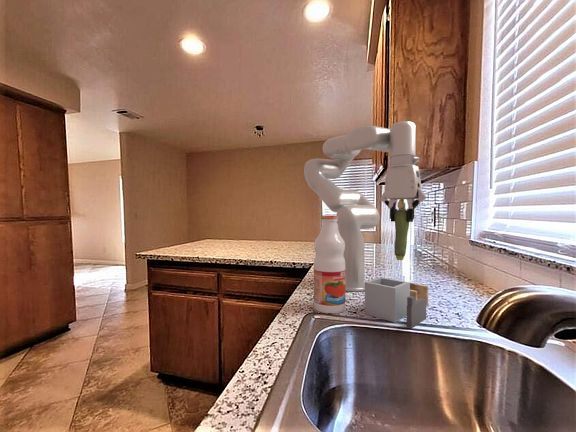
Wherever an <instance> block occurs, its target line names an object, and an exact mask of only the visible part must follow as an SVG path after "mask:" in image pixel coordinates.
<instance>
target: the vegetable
mask: <svg viewBox="0 0 576 432" xmlns="http://www.w3.org/2000/svg"><path fill="white" fill-rule="evenodd" d="M397 208H398V209H397V211H396V213H395V219H394V220H395V221H394V228H395V239H394V246H393V248H394V256H395V258H396V260H397V261H402V260H403V261H404V259H405V256H406V253H407V251H406V250H407V243H408V232H409V227H410V222H407V209H406V208H405V199H398V201H397Z"/></svg>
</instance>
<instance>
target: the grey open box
mask: <svg viewBox="0 0 576 432" xmlns="http://www.w3.org/2000/svg"><path fill="white" fill-rule="evenodd" d="M364 283H365V291H364V315H369V316H371V317H374V318H378V319H382V320H385V321H388V322H393V323H397V322H398V321H400V320H402V319H404V318H406V317H407V297H409V296H410V283H411V282H409V281H403V280H398V279H394V278H393V279H392V278H386V277H382V276H381V277H377V278H373V279H370V280H367V281H364Z"/></svg>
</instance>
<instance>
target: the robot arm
mask: <svg viewBox="0 0 576 432" xmlns="http://www.w3.org/2000/svg"><path fill="white" fill-rule="evenodd" d="M416 132H417V127H416V124H415V123H414V122H413V121H410V120H409V121H408V120H404V121H403V120H402V121H398V122H394V123H392V125H390V127H389V128H386V127H383V126H382V127H381V126H377V125H365V126H360V127H357V128H356V127H355V128H352V129H351V130H350V131H349V132H348V133H347V134H343V135H339V136H334V137H331V138H329V139H326V140H325V142H324V143H323V144H322V152H323V155H324V156H326V157H327V158H329V159H327V158H318V157H317V158H310V159H309V160H307V161H306V162H305V164H304V165H303V166H304V167H303V175H304V179H305V182H306V183H307V186H308V187H309V188H310V189H311V190H312V191H313V192H314V193H315V194H316V195H317V196H318V197H319V198H320V200H321V201H322V202H323V203H324V205H326V206H327V208H328V209H329V210H330V211H331V212H333V213H336V214H335V215H337V216H338V221H337V227H338V230H339V233H340V235H341V237H342V238H343V240H344V242H345V250H344V253H343V256H344V259H345V266H346V271H345V292H363V291H364V292H365V238H364V236H363V234H362V231H361V230H369V229H374V228H375V227H377V226H378V224H379V223H380V221H381V220H380V219H381V218H380V212H379V211H378V208H377V207H376V206H375V205H374V204H373V203H372V202H371V201H369V199H367V197H366V196H364V194H362V192H359V191H358V190H352V189H345V188H344V189H342V188H340V187H339V186H338V185H336V184H335V182H334V181H332V180H336V179H338V178H340V177H341V176H342V174H344V172H345V171H346V169H347V168H348V167H349V166H350V164H351V163H352V162H353V161H354V159H355V157H356V156H358V155H359V154H360V153H361V151H362V150H363V151H364V150H370V151H377V152H384V153H389V167H388V168H387V170H386V173H385V181H384V191H383V193H382V195H381V196H380V198H379V200H380V201H381V202H383V204H385V205H386V206H387V208H388V209H389V219H390V222H392V223H393V222H395V220H394V219H395V213H396V211H397V210H398V209H397V205H398V201H399V200H400V199H404V200H406V201H407V202H406V203H407V207H408V208H407V209H406V210H407V222H409V223H413V222H414V220H415V210H416V208H417V207H418V206H419V205H420V204H421V203H422V202H424V201H425V200H426V199H427V196H426V195H425V193H424V192H423V191H422V181H421V172H420V168H419V165H417V163H418V162H419V163H420V162H421V158H420V157H419V156H416V155H417V154H416V153H417V152H416V148H417V147H416V145H417V143H416V140H417V139H416V138H417V137H416V136H417V135H416V134H417V133H416Z"/></svg>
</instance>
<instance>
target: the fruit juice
mask: <svg viewBox="0 0 576 432" xmlns="http://www.w3.org/2000/svg"><path fill="white" fill-rule="evenodd" d="M320 218H321V222H322V223H321V228H320V231H319V234H318V235H317V237H316V238H315V240H314V245H313V247H314V252H315V256H314V259H313V307H314V309H315V311H317V312H318V313H323V314H328V313H332V314H331V315H333V314H339V313H343V312H345V309H346V291H345V271H346V266H345V259H344V256H343V253H344V250H345V242H344V240H343V238H342V237H341V235H340V233H339V230H338V226H337V221H338V216H337V215H336V214H335V215H331V214H328V215H326V214H325V215H321V217H320Z"/></svg>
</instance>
